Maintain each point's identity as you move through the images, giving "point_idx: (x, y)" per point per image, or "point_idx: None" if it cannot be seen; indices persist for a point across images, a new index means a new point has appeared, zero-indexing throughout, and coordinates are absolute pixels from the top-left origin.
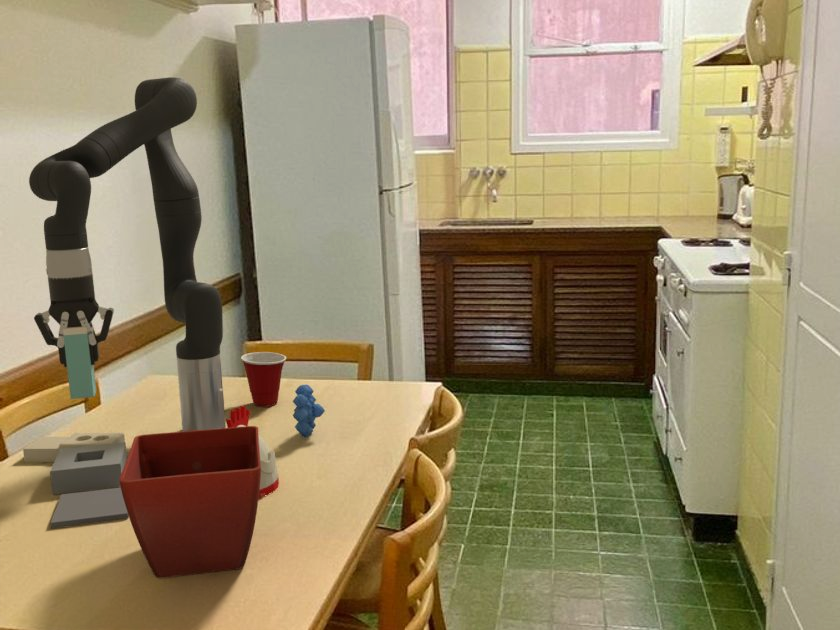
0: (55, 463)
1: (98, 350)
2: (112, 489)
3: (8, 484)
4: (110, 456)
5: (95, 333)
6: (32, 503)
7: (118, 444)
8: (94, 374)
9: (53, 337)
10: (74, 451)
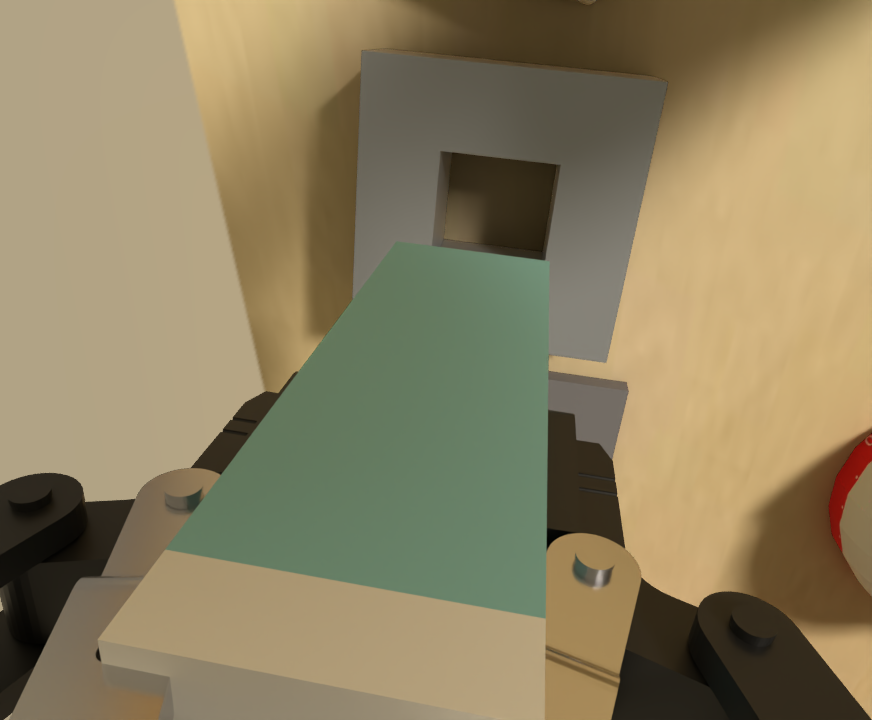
0: (361, 247)
1: (617, 510)
2: (561, 388)
3: (205, 120)
4: (577, 264)
5: (626, 642)
6: (319, 337)
7: (630, 104)
8: (548, 309)
9: (51, 589)
10: (427, 122)
